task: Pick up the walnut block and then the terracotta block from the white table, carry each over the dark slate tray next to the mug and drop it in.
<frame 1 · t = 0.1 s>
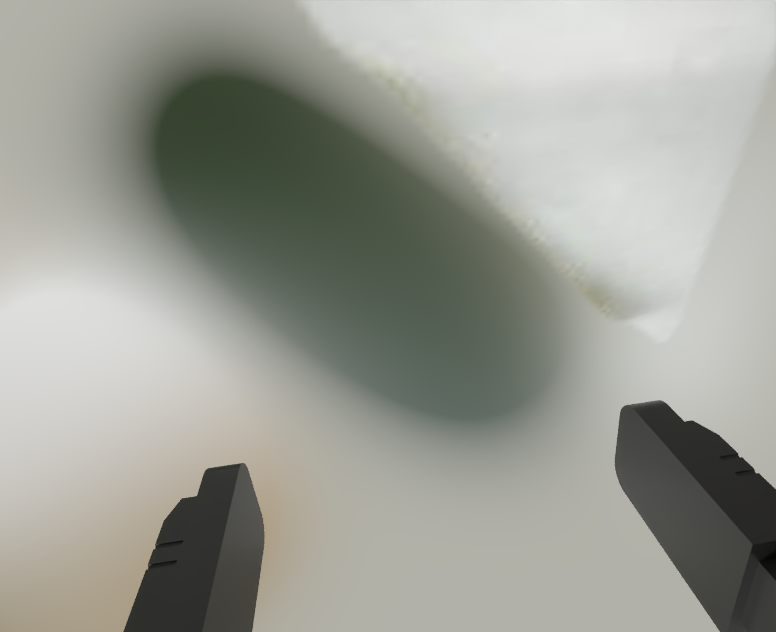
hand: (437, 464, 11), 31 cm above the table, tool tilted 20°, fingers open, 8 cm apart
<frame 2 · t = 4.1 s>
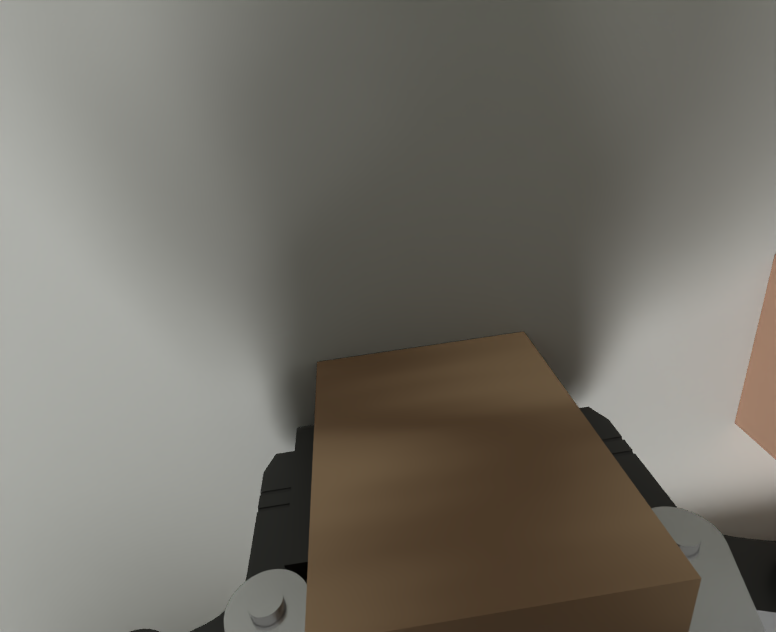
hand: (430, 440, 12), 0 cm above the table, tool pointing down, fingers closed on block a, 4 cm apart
block a: (429, 429, 12), on the table, touching gripper
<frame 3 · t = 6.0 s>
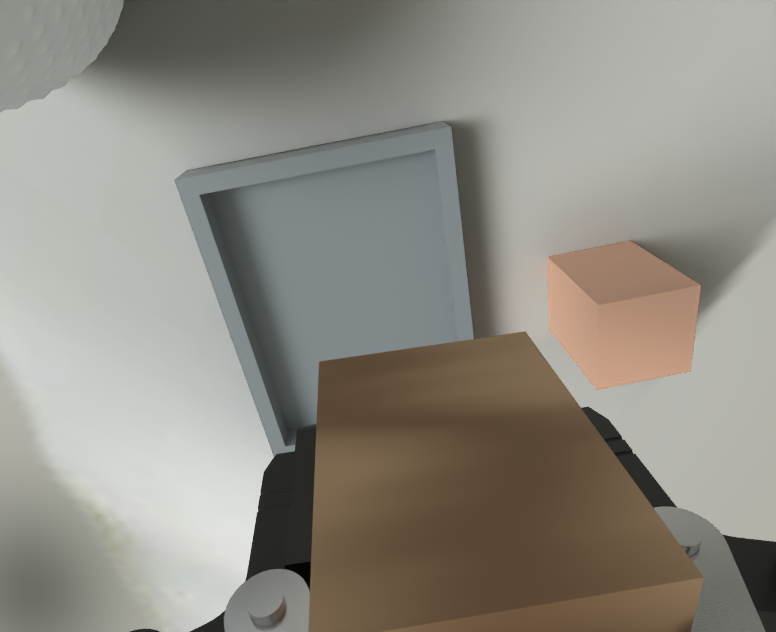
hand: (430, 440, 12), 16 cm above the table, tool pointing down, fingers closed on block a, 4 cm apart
block b: (588, 286, 29), on the table
block a: (430, 429, 12), point 15 cm above the table, touching gripper
tray: (349, 299, 27), on the table
when the fingers open (4 cm above the table, at t = 8.4 s): block a drops 3 cm, resting on tray.
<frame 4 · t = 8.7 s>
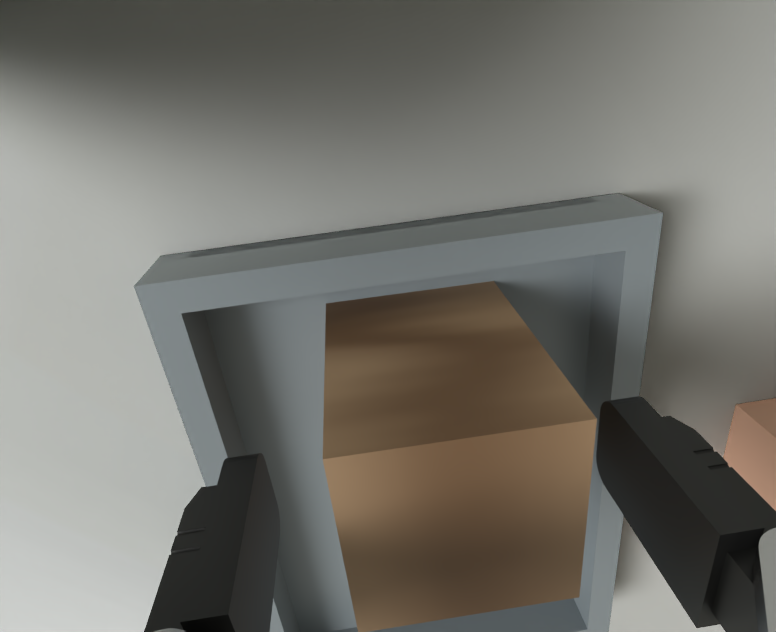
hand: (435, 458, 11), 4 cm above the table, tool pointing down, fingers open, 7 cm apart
block a: (416, 364, 15), resting on tray
tray: (419, 460, 17), on the table
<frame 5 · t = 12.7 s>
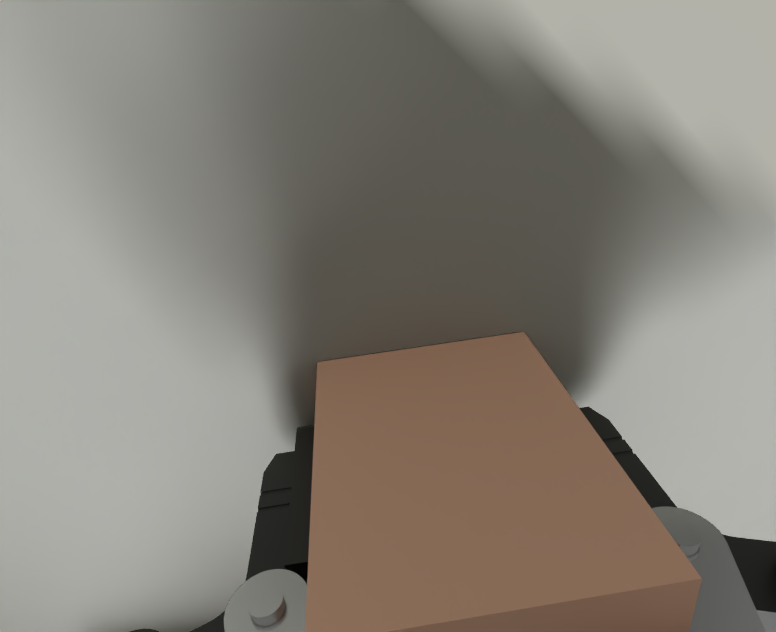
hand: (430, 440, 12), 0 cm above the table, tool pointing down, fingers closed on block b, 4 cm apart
block b: (429, 429, 12), on the table, touching gripper
when the fingers open (4 cm above the table, at t = 17.2 s): block b drops 3 cm, resting on tray.
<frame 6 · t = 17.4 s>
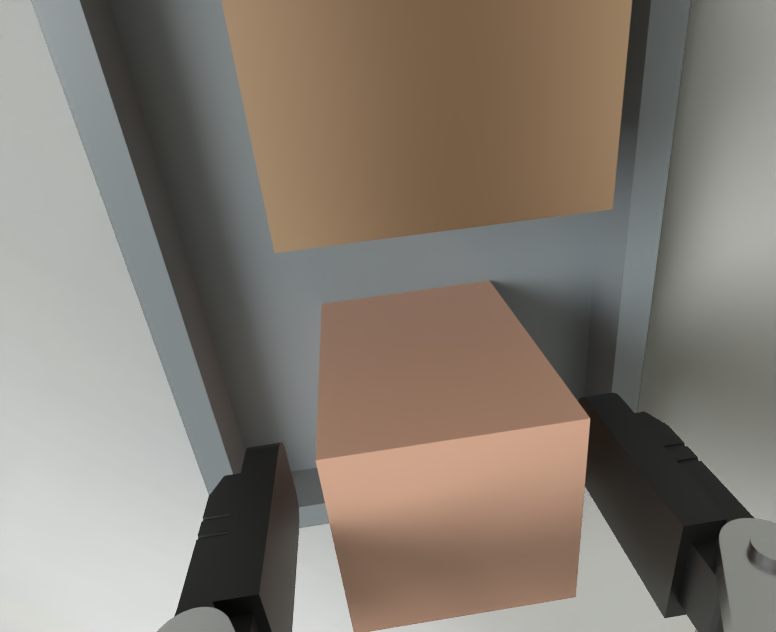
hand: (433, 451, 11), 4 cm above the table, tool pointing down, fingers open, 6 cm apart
block b: (413, 364, 15), resting on tray
block a: (385, 49, 11), resting on tray
tray: (394, 224, 13), on the table
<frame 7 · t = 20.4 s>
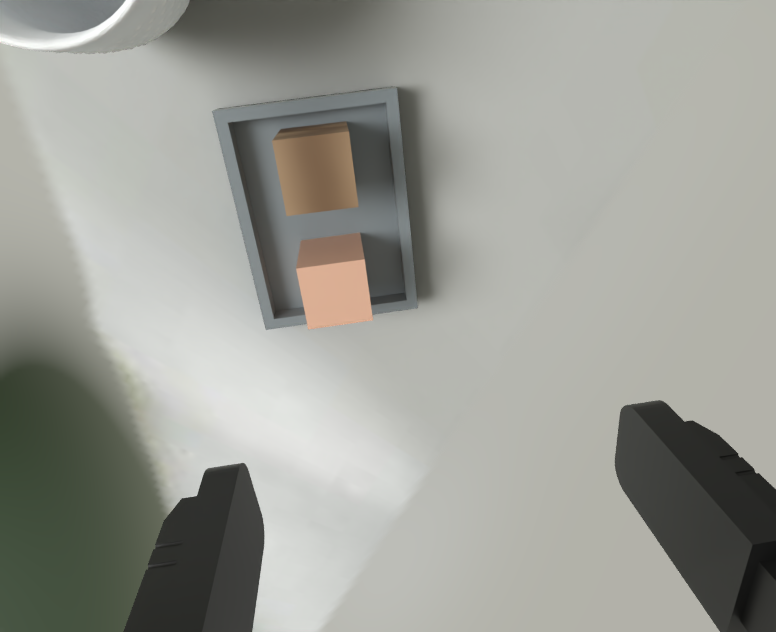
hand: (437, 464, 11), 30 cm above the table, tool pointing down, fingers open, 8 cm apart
block b: (335, 264, 40), resting on tray
block a: (318, 158, 37), resting on tray
tray: (325, 212, 39), on the table
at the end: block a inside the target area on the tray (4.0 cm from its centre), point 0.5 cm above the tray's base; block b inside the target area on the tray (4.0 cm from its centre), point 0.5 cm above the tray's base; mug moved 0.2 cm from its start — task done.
